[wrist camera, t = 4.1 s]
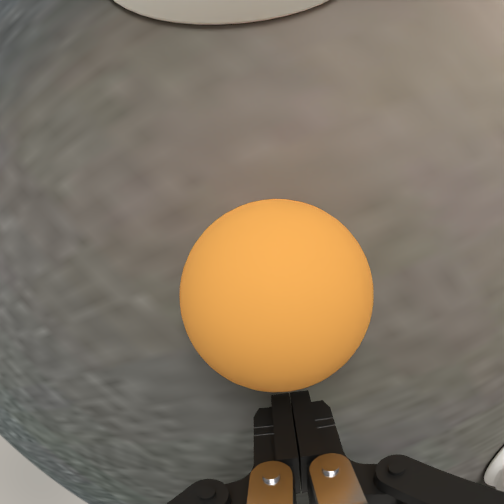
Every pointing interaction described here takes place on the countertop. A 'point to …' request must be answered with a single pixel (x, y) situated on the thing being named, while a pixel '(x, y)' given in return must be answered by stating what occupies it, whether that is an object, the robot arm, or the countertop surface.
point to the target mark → (217, 10)
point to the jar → (496, 472)
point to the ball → (276, 295)
